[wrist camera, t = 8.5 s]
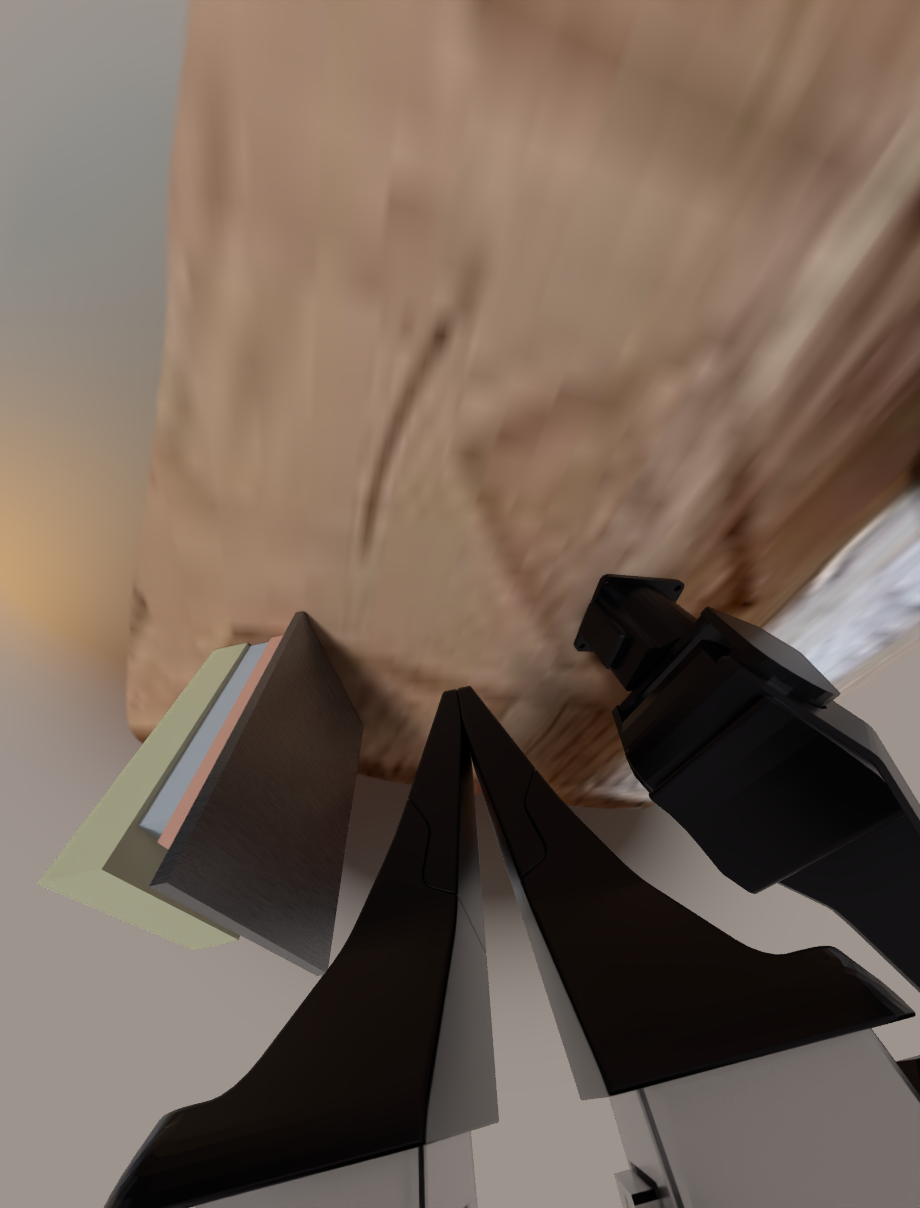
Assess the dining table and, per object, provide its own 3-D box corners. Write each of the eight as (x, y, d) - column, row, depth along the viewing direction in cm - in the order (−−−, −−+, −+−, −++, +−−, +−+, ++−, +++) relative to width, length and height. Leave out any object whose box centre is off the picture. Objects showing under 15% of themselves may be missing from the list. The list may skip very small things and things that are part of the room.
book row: (301, 631, 22) (205, 845, 11) (347, 717, 27) (310, 922, 16) (214, 649, 22) (36, 884, 11) (277, 733, 27) (194, 950, 16)
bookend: (303, 611, 21) (166, 882, 9) (363, 727, 28) (327, 973, 16) (295, 612, 21) (148, 886, 9) (357, 728, 28) (317, 975, 16)
